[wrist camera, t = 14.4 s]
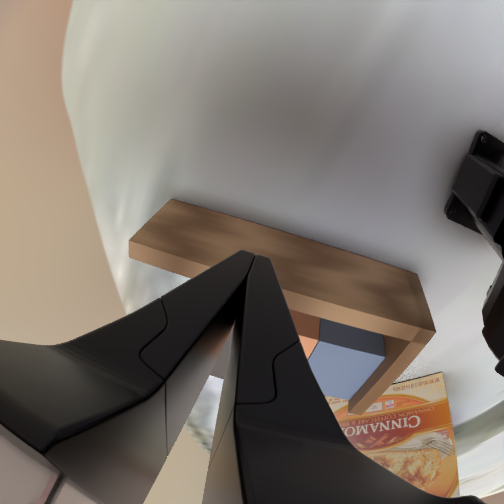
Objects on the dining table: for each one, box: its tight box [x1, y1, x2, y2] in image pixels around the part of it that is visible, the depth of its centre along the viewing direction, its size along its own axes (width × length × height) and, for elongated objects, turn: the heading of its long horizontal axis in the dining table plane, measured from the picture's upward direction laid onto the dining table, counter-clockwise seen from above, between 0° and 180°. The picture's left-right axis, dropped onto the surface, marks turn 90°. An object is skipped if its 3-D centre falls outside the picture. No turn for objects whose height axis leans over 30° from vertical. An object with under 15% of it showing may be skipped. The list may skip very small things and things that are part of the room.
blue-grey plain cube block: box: [307, 318, 386, 400], centre depth 23 cm, size 5×6×5 cm
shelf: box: [129, 199, 436, 415], centre depth 22 cm, size 19×10×6 cm, turn 77°
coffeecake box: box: [325, 372, 460, 498], centre depth 22 cm, size 15×7×20 cm, turn 114°
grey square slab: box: [210, 323, 235, 379], centre depth 23 cm, size 2×6×6 cm, turn 167°
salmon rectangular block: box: [289, 309, 320, 359], centre depth 24 cm, size 5×6×5 cm
